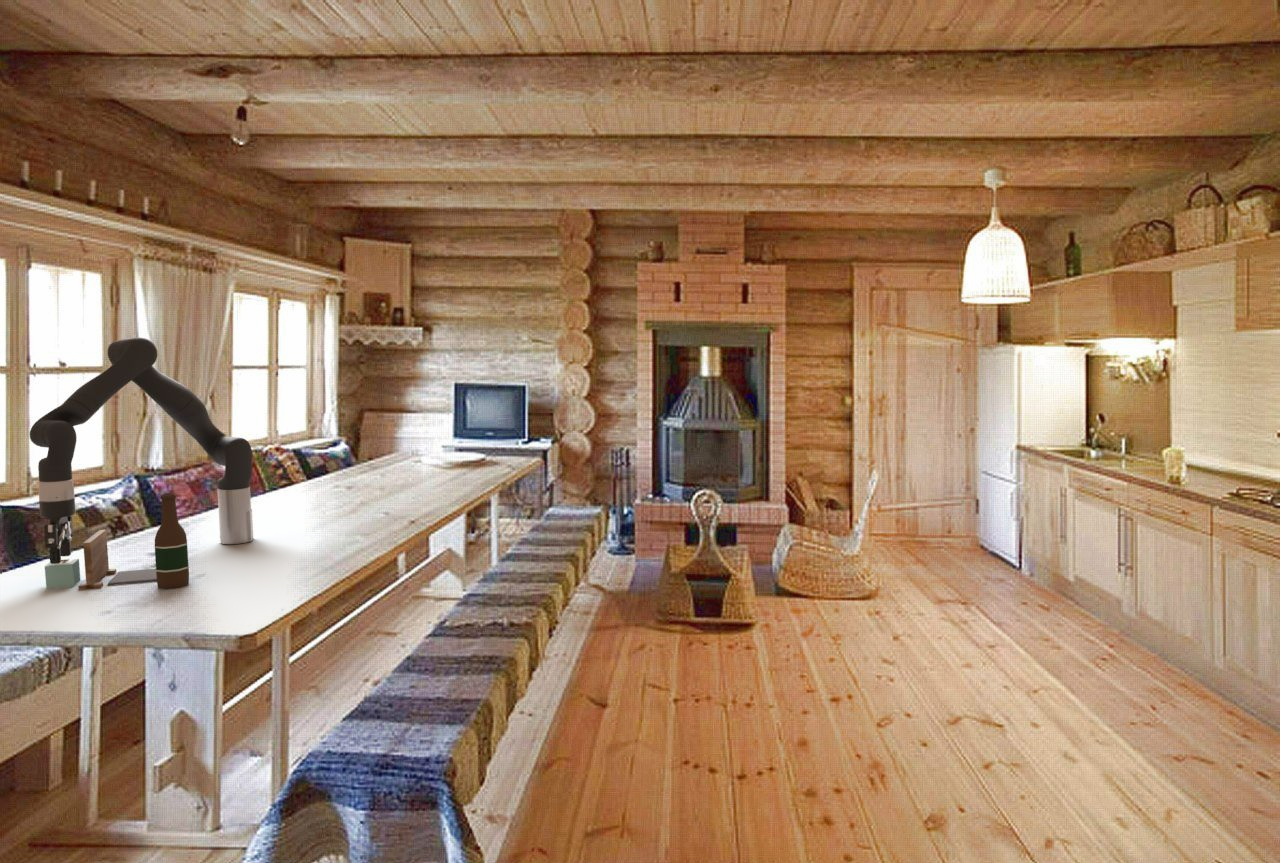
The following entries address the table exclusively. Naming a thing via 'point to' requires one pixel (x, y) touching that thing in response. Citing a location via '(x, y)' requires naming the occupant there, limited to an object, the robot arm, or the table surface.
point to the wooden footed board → (96, 561)
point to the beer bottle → (171, 548)
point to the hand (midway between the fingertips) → (60, 559)
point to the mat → (134, 577)
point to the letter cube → (62, 574)
